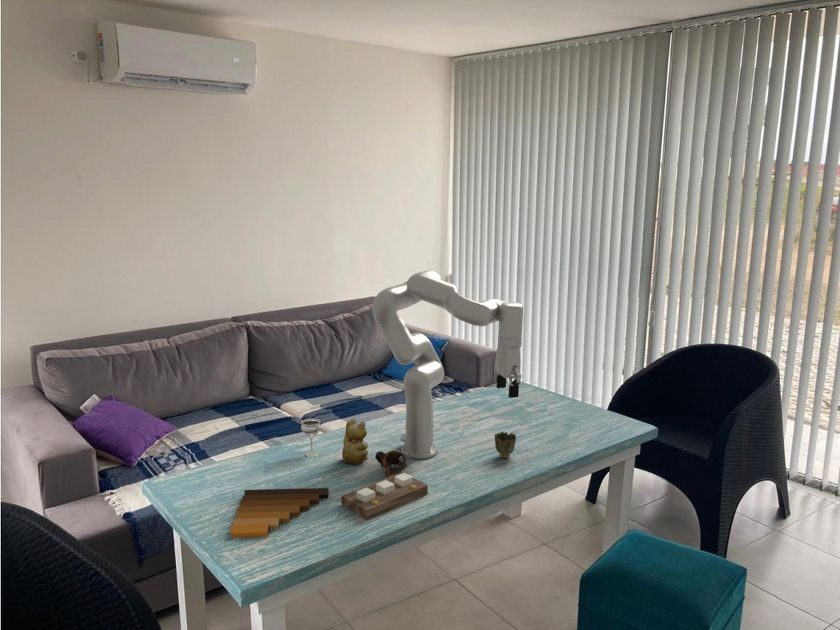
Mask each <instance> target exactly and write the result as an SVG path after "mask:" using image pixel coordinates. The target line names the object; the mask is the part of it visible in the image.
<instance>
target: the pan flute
mask: <svg viewBox="0 0 840 630" xmlns="http://www.w3.org/2000/svg"><path fill="white" fill-rule="evenodd" d="M329 493H330V491H329V487H310V488H307V487H305V488H303V487H302V488H270V489H265V488H263V489H244V494H243V495H242V498H241V500H240V502H239V503H240V504H239V506H238V507H237V512H236V513H235V516H234V517H235V518H234V519H233V521H232V525H230V531H229V532H230V533H229V534H230V538H257V537H269V534H270V532H271V531H272V530H280V527H281V524H286V523H287V524H289V523H290V522H291V520H292V519H291V517H292V518H293V517H300V516H301V514H302V513H301V512H302V511H310V509H311V505H320V502H321V501H320V499H321V500H322V499H329Z"/></svg>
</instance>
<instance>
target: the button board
mask: <svg viewBox="0 0 840 630" xmlns="http://www.w3.org/2000/svg"><path fill="white" fill-rule="evenodd" d="M403 473H404V472H403V471H401V473H398V474H395V475H390V476H389V477H386V478H384V479H381V480H378V481H376V482H373V483H371V484H368V485H365V486H363V487H360V488H358V489H355V490H353V491H350V492H346V493H345V494H343V495H340V496H341V498H340V499H341V502H340V505H341V506H343V507H344V508H346V509H347V510H349V511H351V512H353V513H354V514H356V515H358V516H359V517H361V518H363V519H365V520H366V521H368V520H370V519H372V518H375V517H378V516H379V515H381V514H384V513H386V512H389V511H391V510H393V509H396V508H398V507H401V506H402V505H405V504H408V503H409V502H412V501H414V500H417V499H418V498H421V497H423V496H427V495H428V494H429V493H428V492H429V487H428V486H429V485H428V484H427V483H425V482H422V481H421V480H418V479H417V478H415V477H413V484H411V485H408V486H406V487H401V486H399V485H397V484H395V476H397V475H400V474H403ZM385 480H387V481H389V482H391V483H393V484H395V491H393V492H391V493H388V494H386V495H383V494H381V493H379V492H377V491H376V484H377V483H379V482H382V481H385ZM366 487H367V488H369V489H371V490H373V491H375V499H374V500H371V501H369V502H366V503H363V502H362V501H360V500H358V499H356V491H359V490H361V489H364V488H366Z"/></svg>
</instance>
